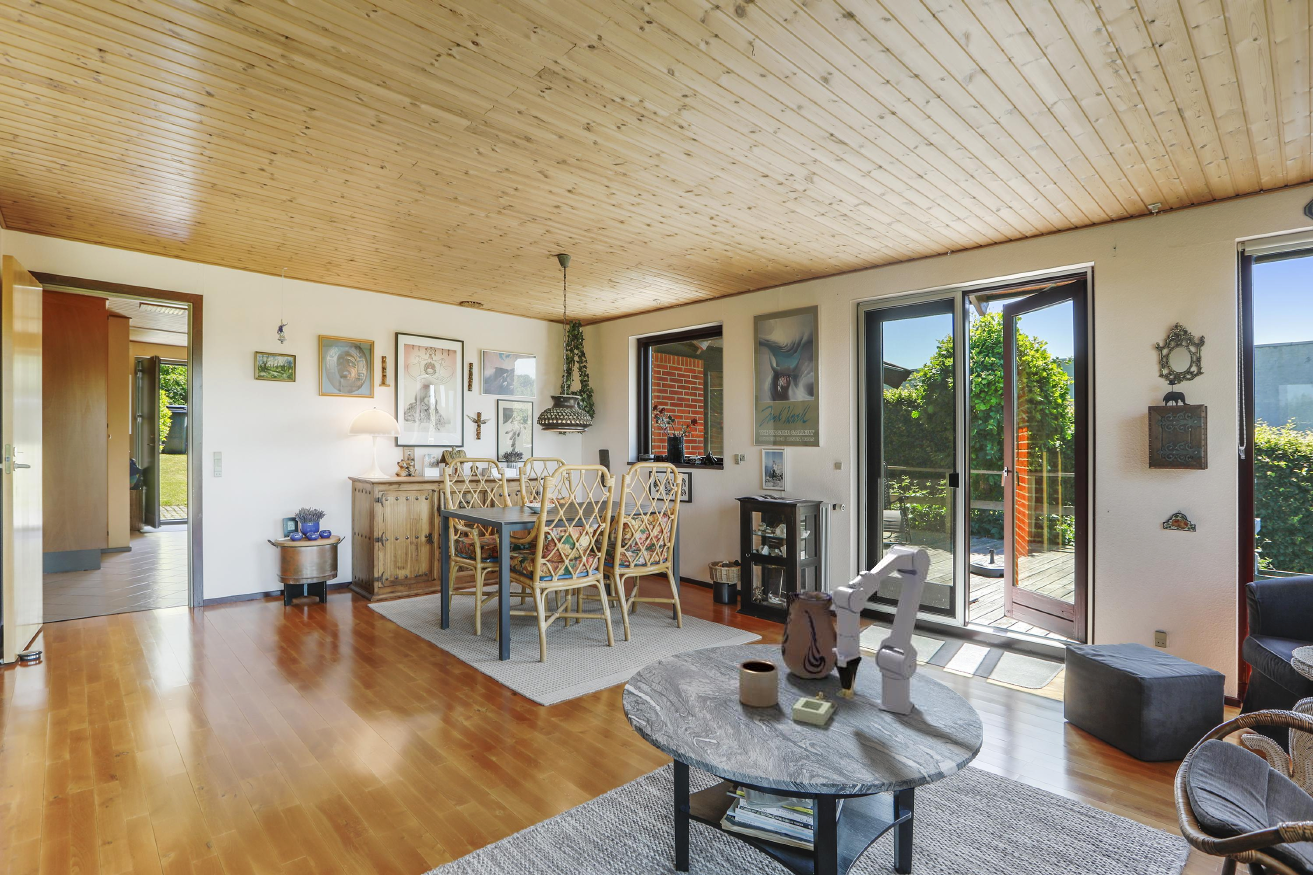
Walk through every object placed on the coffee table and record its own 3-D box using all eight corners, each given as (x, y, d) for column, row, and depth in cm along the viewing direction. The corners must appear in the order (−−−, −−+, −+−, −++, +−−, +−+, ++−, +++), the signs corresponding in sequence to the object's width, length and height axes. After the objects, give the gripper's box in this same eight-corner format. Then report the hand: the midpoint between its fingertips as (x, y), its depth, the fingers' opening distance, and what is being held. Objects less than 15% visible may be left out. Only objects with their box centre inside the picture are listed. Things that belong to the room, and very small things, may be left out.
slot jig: (807, 700, 179) (807, 688, 179) (838, 707, 174) (838, 694, 175) (792, 718, 166) (792, 705, 166) (824, 726, 162) (824, 712, 162)
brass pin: (843, 692, 168) (843, 666, 168) (854, 695, 166) (854, 668, 166) (840, 696, 165) (840, 669, 165) (852, 699, 163) (852, 671, 164)
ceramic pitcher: (784, 662, 211) (785, 586, 212) (851, 669, 205) (851, 591, 205) (777, 680, 195) (778, 597, 195) (849, 688, 188) (850, 603, 189)
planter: (731, 697, 181) (731, 663, 181) (762, 691, 186) (762, 657, 186) (754, 711, 171) (754, 675, 171) (786, 704, 176) (786, 669, 176)
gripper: (839, 625, 174) (838, 675, 174) (825, 638, 161) (825, 692, 161) (866, 629, 171) (865, 680, 170) (854, 643, 158) (853, 698, 158)
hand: (847, 686), depth 165 cm, fingers closed on brass pin, 3 cm apart
